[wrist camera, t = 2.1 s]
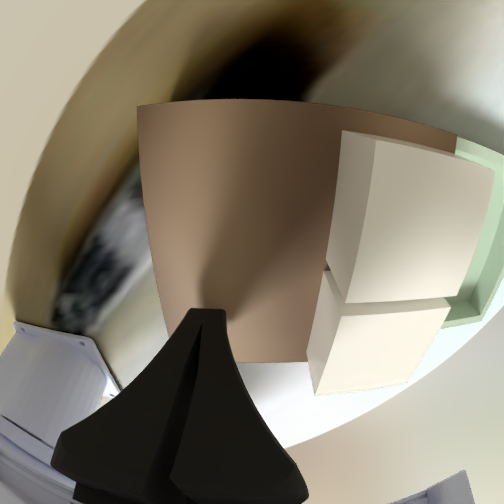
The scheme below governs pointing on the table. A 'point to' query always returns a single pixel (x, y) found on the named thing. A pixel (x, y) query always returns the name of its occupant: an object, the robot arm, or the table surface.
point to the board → (250, 210)
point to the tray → (481, 245)
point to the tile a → (369, 340)
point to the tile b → (404, 219)
